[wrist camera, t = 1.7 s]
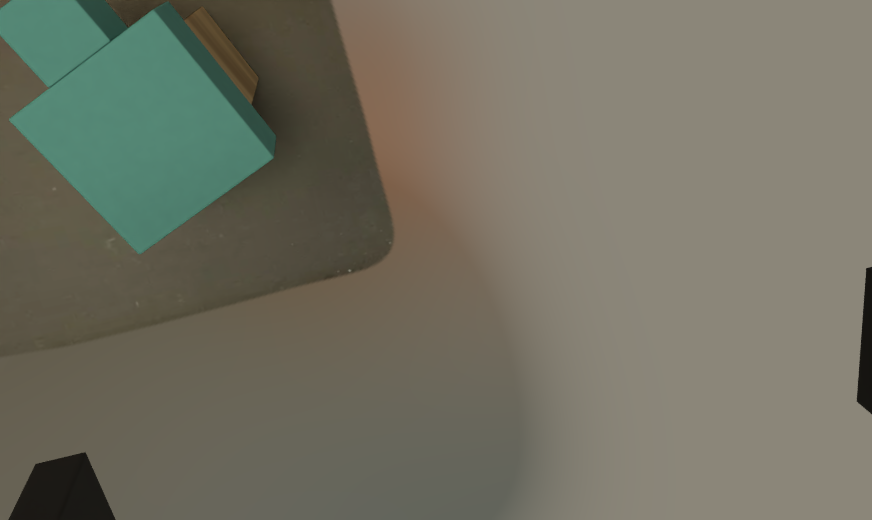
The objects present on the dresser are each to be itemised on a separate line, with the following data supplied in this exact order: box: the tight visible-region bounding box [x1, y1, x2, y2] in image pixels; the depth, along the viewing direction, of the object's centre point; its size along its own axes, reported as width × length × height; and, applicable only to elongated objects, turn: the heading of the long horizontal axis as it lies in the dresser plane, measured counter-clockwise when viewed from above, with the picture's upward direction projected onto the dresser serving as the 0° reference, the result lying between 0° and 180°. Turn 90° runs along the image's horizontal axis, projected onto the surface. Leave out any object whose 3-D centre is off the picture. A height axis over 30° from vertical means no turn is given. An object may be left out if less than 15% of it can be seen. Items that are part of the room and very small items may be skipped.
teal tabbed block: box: [0, 0, 276, 254], centre depth 31 cm, size 7×10×4 cm
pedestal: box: [184, 7, 259, 104], centre depth 39 cm, size 5×5×13 cm
